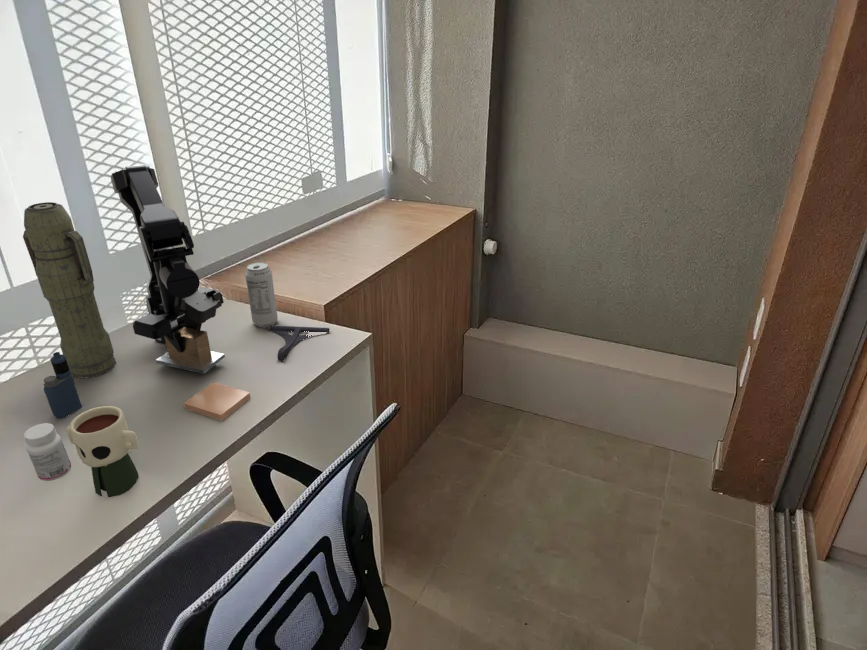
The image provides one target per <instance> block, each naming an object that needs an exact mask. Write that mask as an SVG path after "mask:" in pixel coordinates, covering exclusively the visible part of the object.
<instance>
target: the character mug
mask: <svg viewBox="0 0 867 650" xmlns="http://www.w3.org/2000/svg"><path fill="white" fill-rule="evenodd" d="M65 430H66V431H65V432H66V435H67V437H68V440H69V442H70V444H71V445H74V446H75V449H76V453H77V456H78V458H79V460H81V462H82V464H85V465H86V466H88V467H89V468H91V475H92V482H93V486H94V491H95V494H97V495H98V496H100V497H103V493H102V491H103V492H105V493H106V496H107V498H114V497H118V496H122V495H123V494H125V493H127V492H129V491H130V490H131V489H132V488H133V487H134V486H135V484H137V482H138V480H139V478H140V477H139V476H140V475H139V472H138V470H137V468H136V467H137V466H135V463H134V461H133V459H132V458H131V456H130V453H129V452H130V450H132V451H135V450H137V449H139V441H138V437H137V435H136V433H135V431H132V430H129V428H128V425H127V421H126V418H125V413H124V411H123V410H122V409H120V408H119V407H117V406H114V405H102V406H98V407H94V408H93V407H92V408H91V409H87V410H86V411H83V412H82V413H79V415H77V416H75V417H74V418H73V419H72V421H71V422H70V425H69V426H66V429H65Z"/></svg>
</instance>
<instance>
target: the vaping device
mask: <svg viewBox="0 0 867 650" xmlns="http://www.w3.org/2000/svg"><path fill="white" fill-rule="evenodd" d="M52 355H53V356H52V357H51V358H50V363H51V365H52V368H53V371H54V374H55V375H50V376H49V375H48V376H46V377H45V378H44V379H43V391H44V394H45V397H46V400H47V403H48V405H49V408H50V411H51V413H52V415H53V416H54V417H55V418H56V419H58V420H62V419H63V418H64V419H65V418H68V417H69V416H71V415H72V414H74V413H75V412H76V411H78V410H80V409H81V408H82V407H83V404H82V402H81V399H80V396H79V394H78V389H77V387H76V383H75V380H74V378H73V377H74V376H72V374H71V372H70V369H69V366H68V363H67V360H66V357H65V355H63V354H61V353H60V352H59V351H56V352H55V351H54V352H53V353H52ZM73 412H74V413H73ZM70 414H71V415H70ZM68 415H69V416H68ZM67 416H68V417H67Z"/></svg>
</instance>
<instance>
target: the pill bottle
mask: <svg viewBox="0 0 867 650" xmlns="http://www.w3.org/2000/svg"><path fill="white" fill-rule="evenodd" d="M23 437H24V440H25V443H26V447H25V449H26V452H27V454H28V457H29V460H30V461H31V464H32V466H33V468H34V470H35V473H36V475H37V478H38V479H39V480H40V481H43V482H50V481H52V482H53V481H56V480H58V479H61V478H63V477H64V476H65V475H67V474H68V473H69V472H70V471H71V469H72V463H71V459H70V458H69V454H68V452H67V450H66V448H65V445H64V441H63V439H62V437H61V435H60V434H58V433H57V431H56V428H55V427H54V425H53V424H52V423H45V422H43V423H38V424H35V425H34V426H31V427H30V428H28V429H27V430H26V431H25V432H24V435H23Z"/></svg>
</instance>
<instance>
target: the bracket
mask: <svg viewBox="0 0 867 650" xmlns="http://www.w3.org/2000/svg"><path fill="white" fill-rule="evenodd" d="M328 330H330V327H313V326H295V325H294V326H292V325H290V326H289V325H287V326H286V325H270V326H269V327H268V331H269V332H270V333H273V334H276V335H278V336H279V337H281V338H282V339H284V342H285V345H283V346H282V347H281V348H279V349H278V350H277V361H278V360H282V361H281V362H284V361H285V359H286V358H287V356H288V354H289V353H290V351H291V350H292V348H293V347H294V346H296V345H297V344H299V343H300V341H301V342H302V341H304V340H303V339H305V340H307V339H306V338H308V335H307V336H306V334H307V333H305V334H304V333H303V334H302V333H301V332H304V331H305V332H306V331H307V332H308V331H309V332H328V333H329V331H328ZM291 331H292V332H291ZM291 333H292V334H291ZM300 333H301V334H300ZM299 334H300V335H299ZM311 336H312V335H311ZM309 337H310V336H309ZM308 339H309V338H308ZM283 360H284V361H283Z"/></svg>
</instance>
